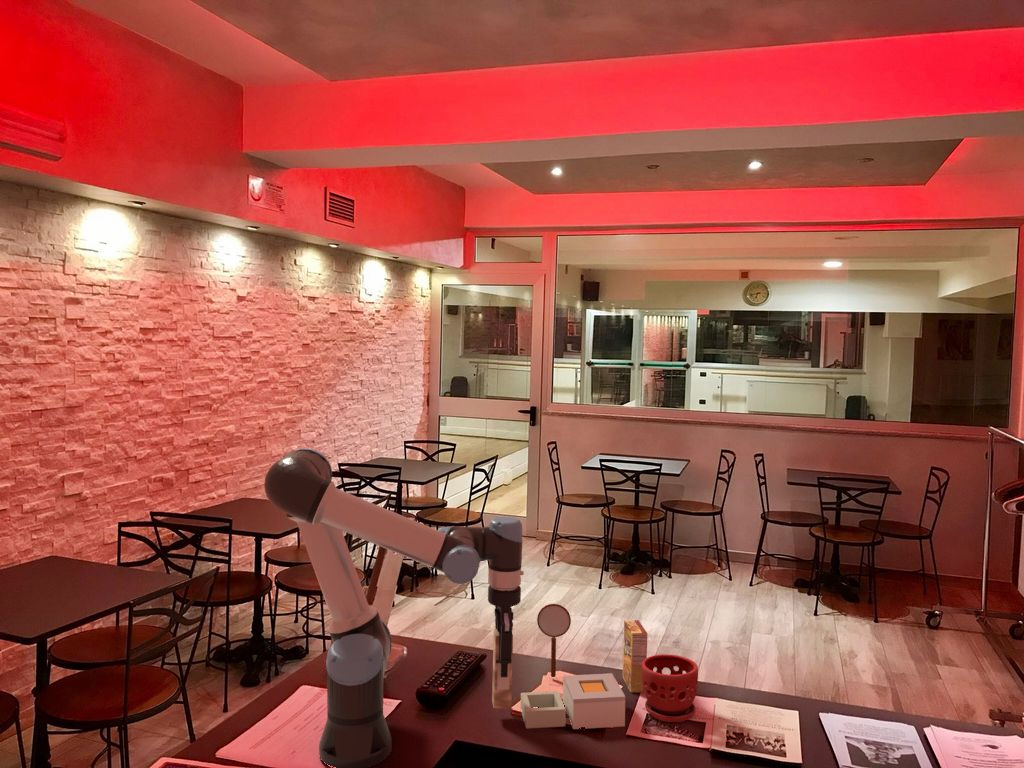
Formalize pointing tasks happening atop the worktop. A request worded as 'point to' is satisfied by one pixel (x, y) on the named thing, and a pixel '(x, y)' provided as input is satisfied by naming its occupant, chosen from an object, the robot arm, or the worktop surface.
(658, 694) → the plant pot
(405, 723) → the worktop surface
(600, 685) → the button
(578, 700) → the white box with opening
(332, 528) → the robot arm
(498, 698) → the wooden square peg
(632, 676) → the candy box
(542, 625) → the magnifying glass
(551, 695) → the cream square open box
